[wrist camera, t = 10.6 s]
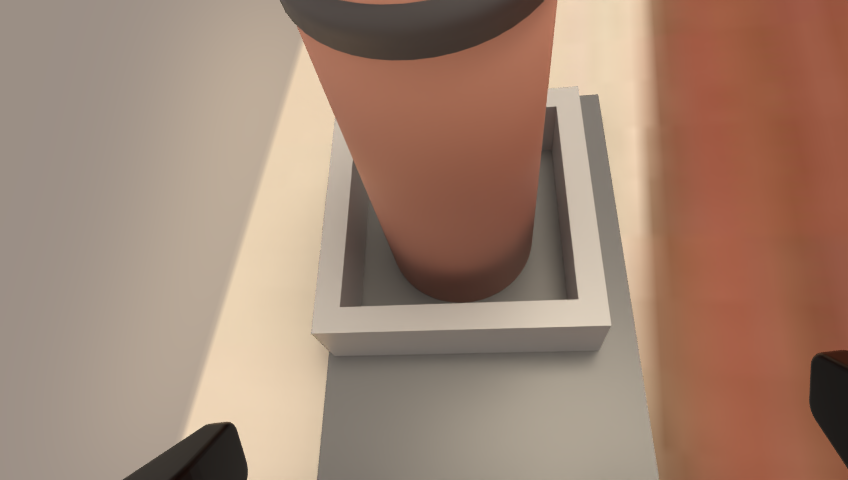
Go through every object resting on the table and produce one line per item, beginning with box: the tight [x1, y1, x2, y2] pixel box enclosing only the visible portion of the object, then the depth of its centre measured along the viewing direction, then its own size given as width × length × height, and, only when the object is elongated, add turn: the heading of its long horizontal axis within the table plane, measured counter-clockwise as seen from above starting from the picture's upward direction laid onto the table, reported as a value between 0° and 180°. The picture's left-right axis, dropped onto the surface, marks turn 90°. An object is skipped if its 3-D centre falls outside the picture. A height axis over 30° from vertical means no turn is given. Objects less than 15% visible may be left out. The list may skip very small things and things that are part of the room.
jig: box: [311, 86, 659, 480], centre depth 18 cm, size 18×10×4 cm, turn 179°
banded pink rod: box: [280, 0, 557, 303], centre depth 14 cm, size 5×5×14 cm
